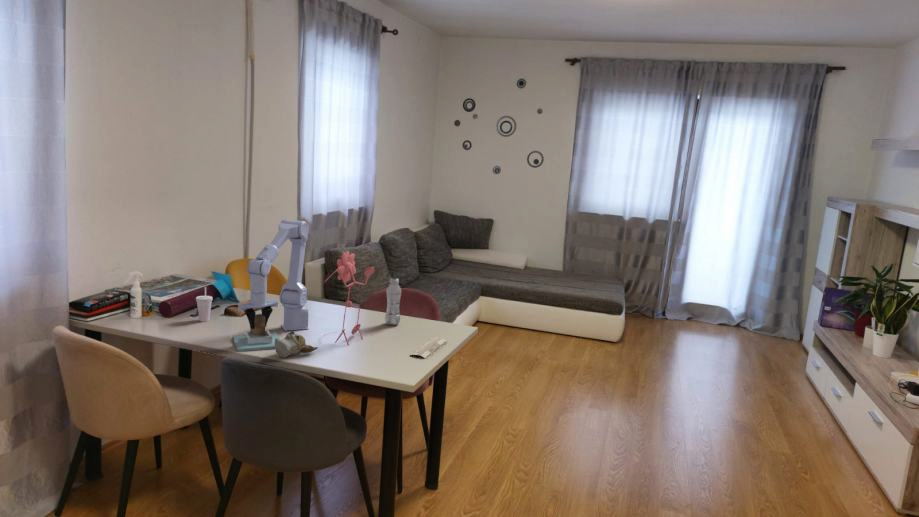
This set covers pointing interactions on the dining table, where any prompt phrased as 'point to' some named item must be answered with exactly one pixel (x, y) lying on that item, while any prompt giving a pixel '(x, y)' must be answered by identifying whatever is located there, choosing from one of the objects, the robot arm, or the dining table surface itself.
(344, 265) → the figurine
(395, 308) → the plastic bottle
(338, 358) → the dining table surface
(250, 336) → the socket
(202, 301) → the smoothie
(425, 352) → the newspaper
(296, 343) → the ceramic sculpture
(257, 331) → the peg
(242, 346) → the board
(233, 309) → the sunglasses case
